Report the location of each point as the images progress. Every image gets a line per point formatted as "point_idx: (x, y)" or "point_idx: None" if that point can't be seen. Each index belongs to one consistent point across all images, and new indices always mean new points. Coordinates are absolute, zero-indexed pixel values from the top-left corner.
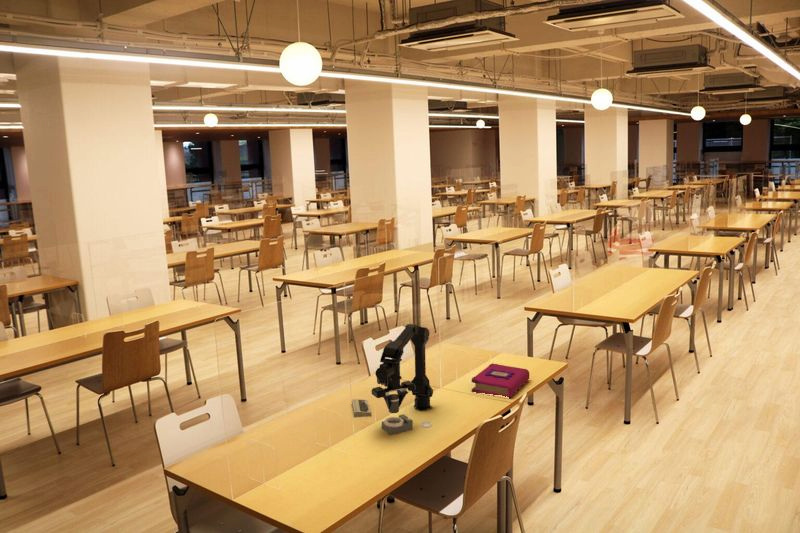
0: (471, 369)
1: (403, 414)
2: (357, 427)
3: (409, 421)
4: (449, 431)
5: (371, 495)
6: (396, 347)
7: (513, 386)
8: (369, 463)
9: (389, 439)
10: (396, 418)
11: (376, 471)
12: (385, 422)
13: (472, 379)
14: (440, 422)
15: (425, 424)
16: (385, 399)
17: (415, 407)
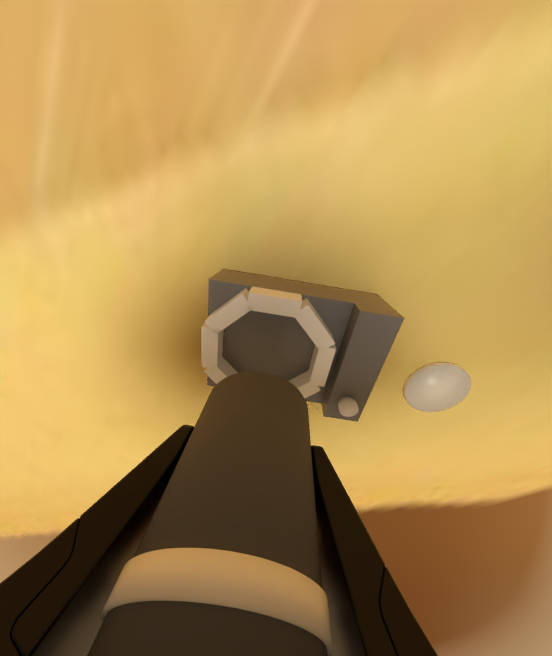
0: None
1: (398, 322)
2: (79, 134)
3: (335, 416)
4: (435, 470)
5: (36, 531)
6: None
7: None
8: (59, 459)
9: (193, 388)
10: (309, 335)
11: (70, 491)
12: (202, 342)
13: None
14: (509, 404)
15: (432, 389)
16: (24, 601)
17: None
